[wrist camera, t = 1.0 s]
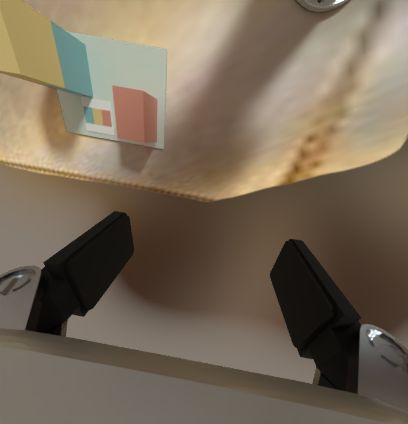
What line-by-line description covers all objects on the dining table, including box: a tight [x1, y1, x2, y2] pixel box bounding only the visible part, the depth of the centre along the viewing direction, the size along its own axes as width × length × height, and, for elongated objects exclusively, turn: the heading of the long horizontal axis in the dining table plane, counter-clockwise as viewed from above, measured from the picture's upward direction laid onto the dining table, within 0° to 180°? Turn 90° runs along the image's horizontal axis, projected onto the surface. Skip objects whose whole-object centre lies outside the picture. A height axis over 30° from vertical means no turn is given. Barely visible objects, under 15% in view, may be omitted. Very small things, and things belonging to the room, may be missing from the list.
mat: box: [57, 31, 167, 149], centre depth 29 cm, size 16×22×1 cm
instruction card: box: [81, 97, 114, 135], centre depth 31 cm, size 6×6×1 cm
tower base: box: [0, 0, 93, 97], centre depth 22 cm, size 8×5×12 cm, turn 171°
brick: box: [112, 85, 158, 143], centre depth 27 cm, size 8×5×6 cm, turn 171°
